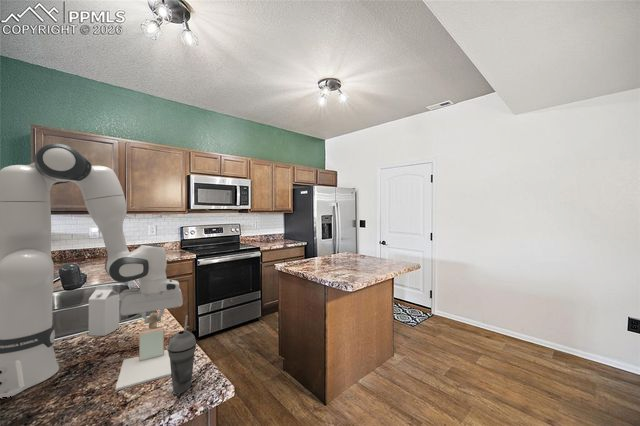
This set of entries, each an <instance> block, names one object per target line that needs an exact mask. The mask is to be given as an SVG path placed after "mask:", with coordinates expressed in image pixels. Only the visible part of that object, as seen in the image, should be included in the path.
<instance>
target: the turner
mask: <svg viewBox="0 0 640 426" xmlns="http://www.w3.org/2000/svg"><path fill="white" fill-rule="evenodd" d="M157 316H158V312H151V313H149V317H150V318H149V323H148V328H145V329H142V331H147V330H153V329H158V328H163V325H160V326H158V322H157Z"/></svg>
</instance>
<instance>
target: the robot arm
mask: <svg viewBox="0 0 640 426" xmlns="http://www.w3.org/2000/svg"><path fill="white" fill-rule="evenodd" d="M33 157H34V160H33V161H34V162H32V163H30V164H26V165H25V164H15V165H14V164H12V165H9V166H5V167H3V168H1V169H0V398H1V399H3V398H2V397H7V398H10V396H11V397H13V396H16V395H17V394H19V393H21V392H23V391H25V390H26V389H28V388H29V389H30V388H31V387H34V386H36V385H38V384H40V383H42V382H44V381H47V380H48V379H49V378H51V377H53V376H54V375H56V373H58V372H59V370H60V366H59V363H58V361H57V358H56V353H55V350H54V349H55V348H54V343H55V341H56V340H55V337H56V331H55V325H54V324H53V298H54V293H53V292H54V274H55V273H54V272H55V265H54V260H53V259H52V212H51V210H52V208H51V189H52V186H55V185H60V184H66V183H67V184H68V183H70V182H72V183H73V184H76V185H77V186H78V188H79V190H80V191H81V195H82V199H83V201H84V205H85V208H86V211H87V212H88V214H89V216H90V217H91V219H92V221H93V222H94V223H95V224H96V227H98V229H99V231H100V233H101V236H102V239H103V244H104V246H105V250H106V254H107V255H106V258H105V263H104V269H105V272H106V274H107V275H108V276H109V277H110V278H111V279H112V280H114V281H115V282H117V283H129V282H132V281H136V280H139V284H138V285H139V286H138V287H135V288H134V287H133V288H125V289H124V290H122V291H121V292H119V302H121V303H120V307H119V315H121V316H123V317H124V316H129V315H136V314H140V316H141V317H142V318H143V320H144V325H146V324H149V318H150V316H148V317H147V315H146V314H147V313H149V312H155V311H160V313H159V315H157V323H159V322H162V317H163V315H164V313H165V310H168V309H174V308H180V307H182V306H183V304H184V302H183V300H184V299H183V293H182V290H181V288H180V282H179V281H178V280H174V279H169V278H167V273H166V269H167V267H168V263H167V261H168V260H167V253H166V252H167V251H166V249H165V247H164V246H163V245H159V244H154V243H153V244H152V243H144V244H142V245H141V246H139V247H138V248H136V249H134V250H132V251H130V250H129V248H128V246H127V242H126V237H125V234H124V228H123V226H124V225H123V224H124V222H125V221H124V220H125V219H126V216H127V202H126V197H125V192H124V191H123V187H122V184H121V182H120V180H119V178H118V176H117V175H116V172H115V171H114V169H112V168H110V167H108V166H103V165H92V163H91V162H90V160H88V159H87V158H86V157H85V156H83V154H82V153H80V152H79V151H78V150H77V149H75V148H74V147H72V146H70V145H67V144H64V143H57V142H55V143H48V144H45V145H43V146H41V147H39V148H38V149H37V150H36V152H35V153H34V156H33Z"/></svg>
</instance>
